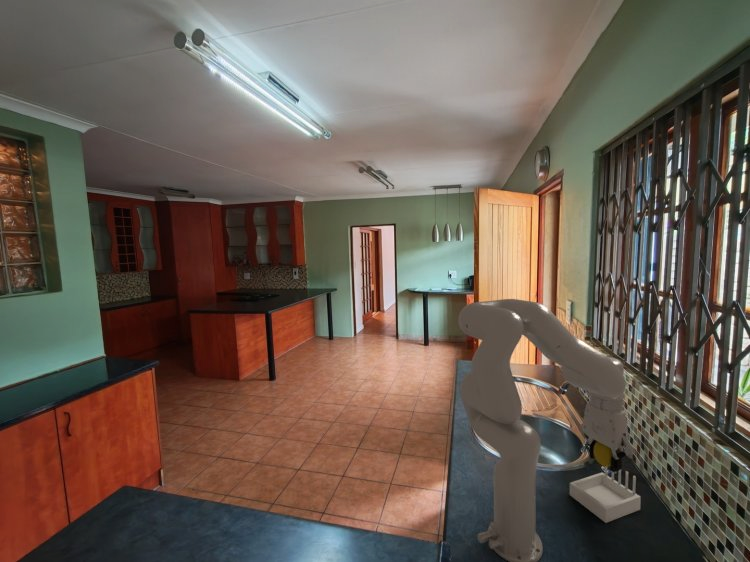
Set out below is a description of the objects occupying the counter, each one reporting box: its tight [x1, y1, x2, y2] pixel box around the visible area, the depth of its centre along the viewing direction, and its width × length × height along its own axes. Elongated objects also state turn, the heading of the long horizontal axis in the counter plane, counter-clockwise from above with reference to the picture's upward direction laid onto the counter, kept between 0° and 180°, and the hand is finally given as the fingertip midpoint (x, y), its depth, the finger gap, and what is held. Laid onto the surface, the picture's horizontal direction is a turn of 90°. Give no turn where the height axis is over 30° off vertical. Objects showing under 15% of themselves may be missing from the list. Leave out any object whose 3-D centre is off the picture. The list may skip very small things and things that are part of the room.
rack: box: [569, 466, 642, 524], centre depth 95 cm, size 13×11×9 cm
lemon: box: [594, 441, 613, 468], centre depth 94 cm, size 6×6×8 cm
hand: (604, 463), depth 94 cm, fingers closed on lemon, 5 cm apart
